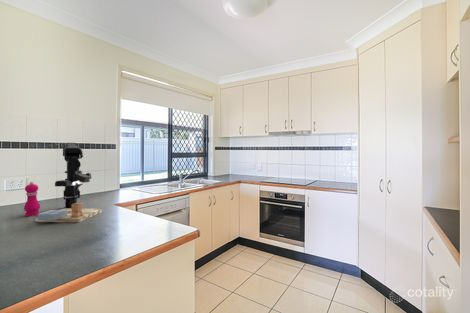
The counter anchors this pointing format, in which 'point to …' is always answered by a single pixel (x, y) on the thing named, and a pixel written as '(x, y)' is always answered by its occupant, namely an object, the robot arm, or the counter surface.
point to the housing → (52, 215)
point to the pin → (76, 209)
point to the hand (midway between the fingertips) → (73, 197)
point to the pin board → (85, 214)
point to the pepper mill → (31, 200)
